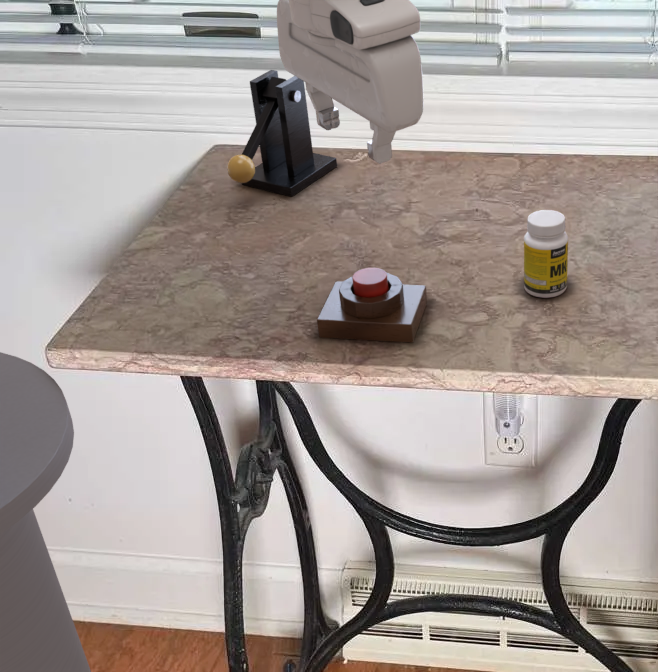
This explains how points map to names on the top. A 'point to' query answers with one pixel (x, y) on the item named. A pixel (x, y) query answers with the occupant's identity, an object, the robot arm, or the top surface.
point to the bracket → (286, 140)
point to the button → (370, 282)
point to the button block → (373, 312)
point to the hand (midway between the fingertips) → (354, 142)
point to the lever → (255, 137)
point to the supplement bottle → (545, 254)
